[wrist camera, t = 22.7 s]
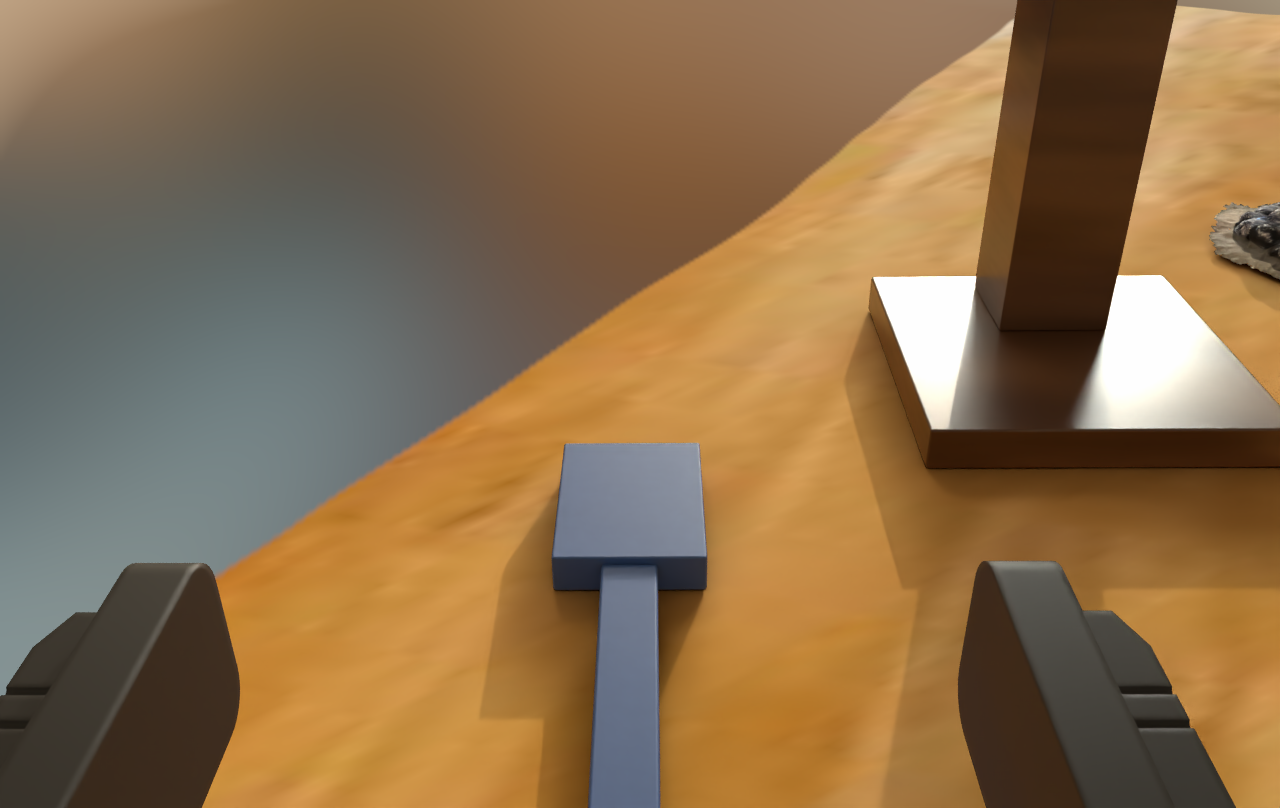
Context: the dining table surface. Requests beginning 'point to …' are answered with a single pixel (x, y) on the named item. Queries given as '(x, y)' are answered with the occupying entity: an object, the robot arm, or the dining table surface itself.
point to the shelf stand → (1069, 282)
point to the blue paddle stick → (628, 591)
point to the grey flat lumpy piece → (1249, 236)
